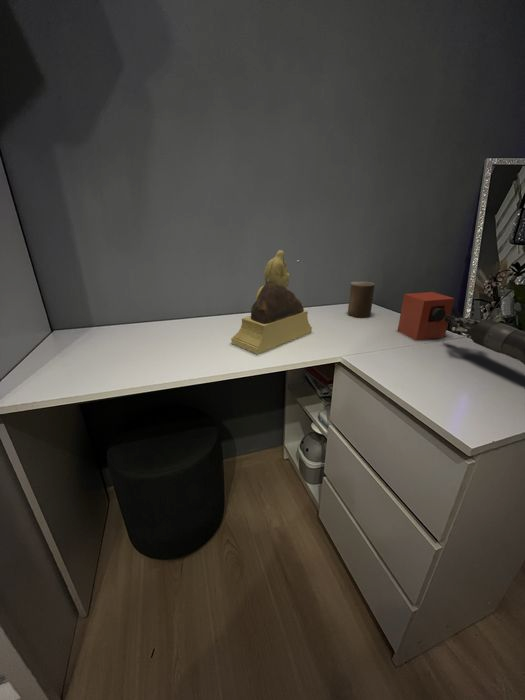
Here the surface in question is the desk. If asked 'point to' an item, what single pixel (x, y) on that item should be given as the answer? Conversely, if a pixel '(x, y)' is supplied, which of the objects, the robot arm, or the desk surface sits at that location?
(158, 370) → the desk surface
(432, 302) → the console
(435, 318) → the button
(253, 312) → the yellow and brown statue
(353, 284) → the pillar candle
